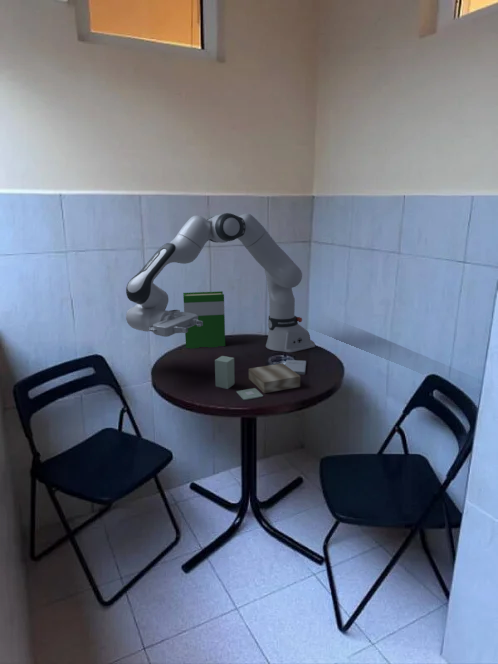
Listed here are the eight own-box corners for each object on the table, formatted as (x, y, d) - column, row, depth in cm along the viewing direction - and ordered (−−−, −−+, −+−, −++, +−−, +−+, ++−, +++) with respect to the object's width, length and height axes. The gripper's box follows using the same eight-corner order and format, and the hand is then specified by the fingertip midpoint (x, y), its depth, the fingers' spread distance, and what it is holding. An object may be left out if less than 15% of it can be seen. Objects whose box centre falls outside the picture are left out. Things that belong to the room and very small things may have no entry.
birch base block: (282, 373, 171) (282, 363, 170) (300, 386, 159) (300, 376, 157) (248, 378, 166) (248, 368, 165) (264, 393, 153) (264, 382, 152)
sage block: (222, 381, 164) (222, 355, 161) (234, 383, 161) (234, 357, 159) (215, 386, 159) (214, 360, 157) (227, 388, 157) (227, 362, 154)
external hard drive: (283, 374, 171) (286, 363, 183) (304, 375, 170) (306, 364, 181) (283, 370, 171) (286, 359, 182) (304, 371, 169) (306, 360, 181)
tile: (255, 388, 157) (255, 387, 157) (263, 396, 151) (263, 395, 151) (236, 392, 154) (236, 390, 154) (244, 400, 148) (243, 398, 148)
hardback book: (223, 341, 209) (222, 291, 203) (225, 346, 202) (224, 294, 196) (185, 343, 207) (183, 292, 200) (186, 348, 200) (183, 296, 193)
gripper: (144, 320, 157) (176, 325, 150) (179, 308, 174) (209, 312, 168) (145, 337, 158) (177, 343, 152) (180, 324, 176) (209, 328, 170)
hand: (194, 327), depth 160 cm, fingers open, 8 cm apart
